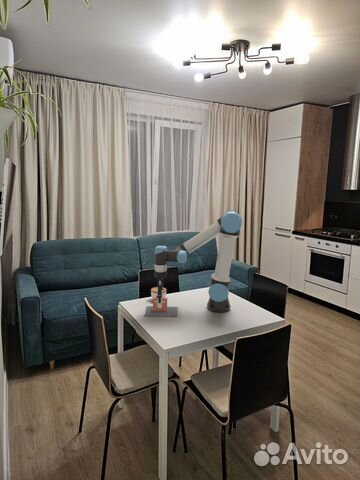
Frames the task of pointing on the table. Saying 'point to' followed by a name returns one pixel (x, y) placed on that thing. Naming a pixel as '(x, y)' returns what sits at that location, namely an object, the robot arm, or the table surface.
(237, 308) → the table surface
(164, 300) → the deck
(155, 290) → the lidded jar
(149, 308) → the mat
